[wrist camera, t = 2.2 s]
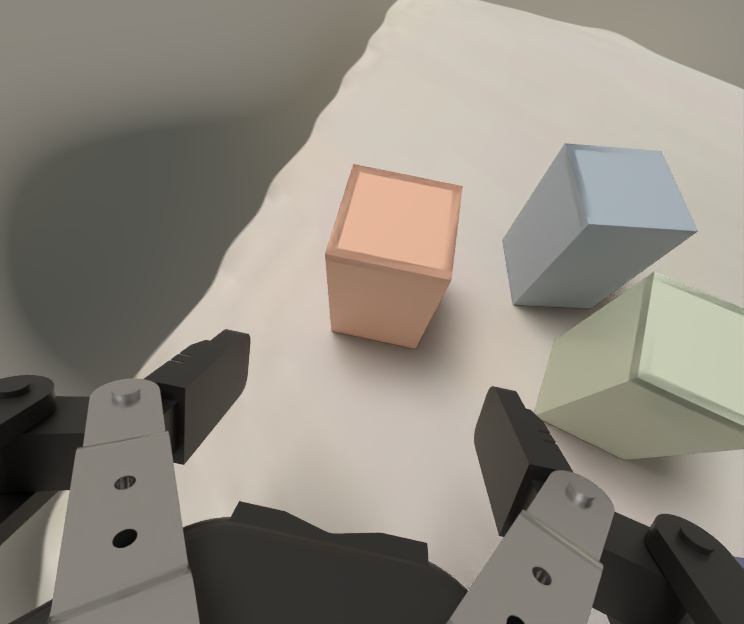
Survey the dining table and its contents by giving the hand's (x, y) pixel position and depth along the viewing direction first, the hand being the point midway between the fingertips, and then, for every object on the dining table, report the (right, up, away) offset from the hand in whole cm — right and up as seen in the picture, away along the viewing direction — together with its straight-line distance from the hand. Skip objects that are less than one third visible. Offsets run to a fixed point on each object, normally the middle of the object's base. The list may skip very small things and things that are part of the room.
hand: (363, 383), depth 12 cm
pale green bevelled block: (+16, -4, +14) cm, 22 cm away
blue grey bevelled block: (+15, +6, +19) cm, 25 cm away
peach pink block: (+1, +3, +16) cm, 17 cm away
